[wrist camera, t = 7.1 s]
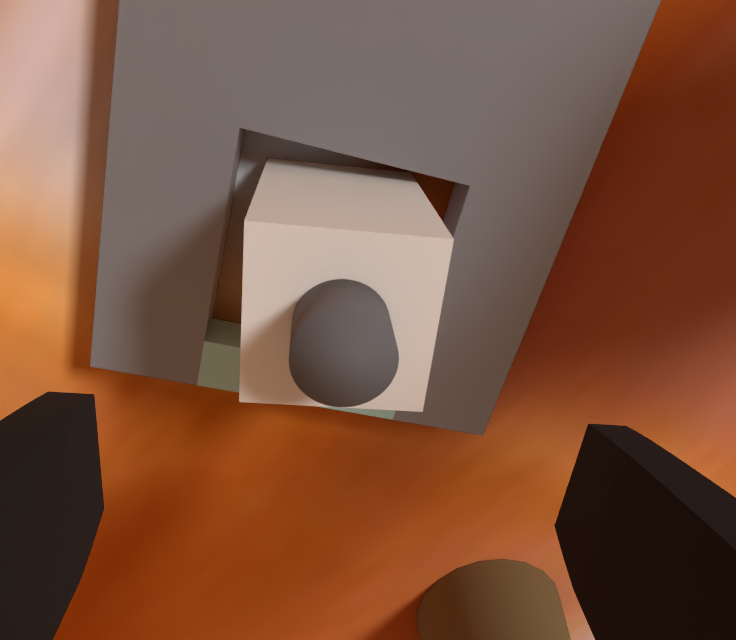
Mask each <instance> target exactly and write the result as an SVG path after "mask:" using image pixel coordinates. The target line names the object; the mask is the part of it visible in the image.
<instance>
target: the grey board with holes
mask: <svg viewBox="0 0 736 640" xmlns="http://www.w3.org/2000/svg"><path fill="white" fill-rule="evenodd" d="M660 2H661V0H119V9H118V22H117V34H116V47H115V59H114V72H113V84H112V97H111V109H110V122H109V134H108V147H107V159H106V172H105V184H104V197H103V209H102V222H101V234H100V247H99V260H98V272H97V285H96V297H95V310H94V322H93V335H92V347H91V360H90V367H95V368H101V369H107V370H112V371H118V372H124V373H129V374H135V375H141V376H146V377H152V378H158V379H164V380H169V381H175V382H181V383H186V384H192V385H198V386H203V387H209V388H215V389H220V390H226V391H232V392H238V393H239V385H240V350H241V324H239V323H234V322H229V321H224V320H219V319H214V318H213V312H214V306H215V300H216V294H217V288H218V282H219V276H220V271H221V265H222V259H223V253H224V247H225V241H226V235H227V229H228V223H229V217H230V212H231V206H232V200H233V194H234V188H235V182H236V176H237V170H238V164H239V158H240V153H241V147H242V141H243V135H244V129H246V130H250V131H254V132H258V133H262V134H266V135H270V136H274V137H278V138H282V139H286V140H290V141H294V142H298V143H302V144H306V145H310V146H314V147H318V148H322V149H326V150H330V151H334V152H338V153H342V154H346V155H350V156H354V157H357V158H361V159H365V160H369V161H373V162H377V163H381V164H385V165H389V166H393V167H397V168H401V169H405V170H409V171H413V172H417V173H421V174H425V175H429V176H433V177H437V178H441V179H445V180H449V181H453V182H455V185H454V188H453V191H452V194H451V197H450V200H449V204H448V207H447V210H446V213H445V216H444V219H443V223H444V225H445V226H446V228H447V229H448V231H449V232H450V234H451V235H452V237H453V238H454V242H453V248H452V253H451V259H450V264H449V270H448V275H447V281H446V286H445V292H444V297H443V303H442V308H441V314H440V319H439V325H438V330H437V336H436V341H435V347H434V352H433V358H432V363H431V369H430V374H429V379H428V385H427V390H426V396H425V401H424V407H423V412H415V411H397V410H378V409H359V408H340V407H323V408H329V409H334V410H340V411H346V412H351V413H357V414H363V415H368V416H374V417H380V418H385V419H391V420H397V421H403V422H408V423H414V424H420V425H425V426H431V427H437V428H442V429H448V430H454V431H459V432H465V433H471V434H476V435H482V436H483V434H484V431H485V429H486V426H487V424H488V421H489V419H490V417H491V414H492V412H493V409H494V407H495V404H496V402H497V400H498V397H499V395H500V392H501V390H502V387H503V385H504V382H505V380H506V378H507V375H508V373H509V370H510V368H511V365H512V363H513V360H514V358H515V356H516V353H517V351H518V348H519V346H520V343H521V341H522V339H523V336H524V334H525V331H526V329H527V326H528V324H529V321H530V319H531V317H532V314H533V312H534V309H535V307H536V304H537V302H538V299H539V297H540V295H541V292H542V290H543V287H544V285H545V282H546V280H547V277H548V275H549V273H550V270H551V268H552V265H553V263H554V260H555V258H556V256H557V253H558V251H559V248H560V246H561V243H562V241H563V238H564V236H565V234H566V231H567V229H568V226H569V224H570V221H571V219H572V216H573V214H574V212H575V209H576V207H577V204H578V202H579V199H580V197H581V195H582V192H583V190H584V187H585V185H586V182H587V180H588V177H589V175H590V173H591V170H592V168H593V165H594V163H595V160H596V158H597V155H598V153H599V151H600V148H601V146H602V143H603V141H604V138H605V136H606V133H607V131H608V129H609V126H610V124H611V121H612V119H613V116H614V114H615V112H616V109H617V107H618V104H619V102H620V99H621V97H622V94H623V92H624V90H625V87H626V85H627V82H628V80H629V77H630V75H631V72H632V70H633V68H634V65H635V63H636V60H637V58H638V55H639V53H640V51H641V48H642V46H643V43H644V41H645V38H646V36H647V33H648V31H649V29H650V26H651V24H652V21H653V19H654V16H655V14H656V11H657V9H658V7H659V4H660ZM317 407H322V406H317Z"/></svg>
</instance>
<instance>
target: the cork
mask: <svg viewBox="0 0 736 640" xmlns="http://www.w3.org/2000/svg"><path fill="white" fill-rule="evenodd" d="M417 628H418V631H419V634H420V637H421V640H571V638H570V635H569V631H568V627H567V623H566V620H565V616H564V612H563V608H562V605H561V601H560V597H559V594H558V591H557V588H556V585H555V583H554V582H553V581H552V580H551V579H550V578H549V577H548V575H547V574H546V573H545V572H544V571H542V570H540V569H538V568H536V567H534V566H532V565H530V564H527V563H525V562H519V561H512V560H505V559H500V560H489V561H479V562H476V563H473V564H470V565H467V566H464V567H461V568H458V569H456V570H454V571H452V572H451V573H449V574H448V575H446V576H444V577H443V578H441V579H439V580H438V581H437V582H436V583H435V584H434V585H433V586H432V587H431V588H430V589H429V590H428V591H427V593H426V594H425V595H424V596H423V599H422V601H421V603H420V606H419V608H418V610H417Z"/></svg>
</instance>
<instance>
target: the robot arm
mask: <svg viewBox="0 0 736 640" xmlns="http://www.w3.org/2000/svg"><path fill="white" fill-rule="evenodd" d="M103 510H104V502H103V490H102V479H101V467H100V456H99V444H98V433H97V421H96V410H95V398H94V394H78V393H61V392H47V393H45V394H43V395H41V396H40V397H38V398H36V399H34V400H33V401H31V402H29V403H28V404H26V405H24V406H23V407H21V408H20V409H18V410H16V411H15V412H13V413H12V414H10V415H8V416H7V417H5V418H4V419H2V420H1V421H0V640H53V638H54V636H55V634H56V631H57V629H58V627H59V625H60V623H61V621H62V618H63V616H64V614H65V612H66V610H67V608H68V606H69V603H70V601H71V599H72V597H73V595H74V593H75V590H76V588H77V586H78V584H79V582H80V579H81V577H82V574H83V572H84V569H85V566H86V563H87V560H88V557H89V554H90V551H91V548H92V545H93V542H94V539H95V536H96V532H97V529H98V526H99V523H100V520H101V517H102V513H103ZM555 529H556V532H557V536H558V540H559V543H560V547H561V550H562V554H563V557H564V561H565V564H566V567H567V570H568V574H569V577H570V580H571V583H572V586H573V589H574V592H575V594H576V596H577V599H578V601H579V604H580V606H581V608H582V610H583V613H584V615H585V617H586V620H587V622H588V624H589V626H590V629H591V631H592V633H593V636H594V638H595V640H736V498H735V497H734V496H732V495H731V494H730V493H728V492H727V491H725V490H724V489H722V488H721V487H719V486H718V485H716V484H715V483H713V482H712V481H711V480H709V479H708V478H706V477H705V476H703V475H702V474H700V473H699V472H697V471H696V470H695V469H693V468H692V467H690V466H689V465H687V464H686V463H684V462H683V461H681V460H680V459H678V458H677V457H675V456H674V455H672V454H671V453H669V452H668V451H666V450H665V449H663V448H662V447H660V446H659V445H657V444H656V443H654V442H653V441H651V440H650V439H648V438H646V437H645V436H643V435H641V434H640V433H638V432H636V431H634V430H633V429H631V428H629V427H627V426H618V425H601V424H588V426H587V429H586V432H585V435H584V438H583V441H582V445H581V448H580V451H579V454H578V457H577V460H576V463H575V466H574V469H573V472H572V475H571V478H570V481H569V484H568V487H567V490H566V493H565V496H564V499H563V502H562V505H561V508H560V511H559V514H558V517H557V520H556V523H555Z"/></svg>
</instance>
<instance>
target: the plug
mask: <svg viewBox="0 0 736 640" xmlns="http://www.w3.org/2000/svg"><path fill="white" fill-rule="evenodd" d="M453 242H454V238H453V237H452V235H451V234H450V232H449V231H448V229H447V228H446V226H445V225H444V223H443V221H442V220H441V218H440V217H439V215H438V214H437V212H436V211H435V209H434V208H433V206H432V204H431V203H430V201H429V200H428V198H427V197H426V195H425V194H424V192H423V191H422V189H421V187H420V186H419V184H418V183H417V181H416V180H415V178H414V177H413V175H412V174H411V173H409V172H399V171H389V170H379V169H369V168H359V167H349V166H339V165H329V164H320V163H310V162H300V161H290V160H280V159H270V158H268V159H267V161H266V164H265V167H264V169H263V172H262V175H261V177H260V180H259V183H258V185H257V188H256V191H255V193H254V196H253V199H252V201H251V204H250V207H249V209H248V212H247V215H246V217H245V220H244V244H243V279H242V315H241V350H240V385H239V402H247V403H266V404H284V405H303V406H322V407H340V408H359V409H378V410H397V411H415V412H423V407H424V401H425V396H426V390H427V385H428V379H429V374H430V369H431V363H432V358H433V352H434V347H435V341H436V336H437V330H438V325H439V319H440V314H441V308H442V303H443V297H444V292H445V286H446V281H447V275H448V270H449V264H450V259H451V253H452V248H453Z"/></svg>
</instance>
